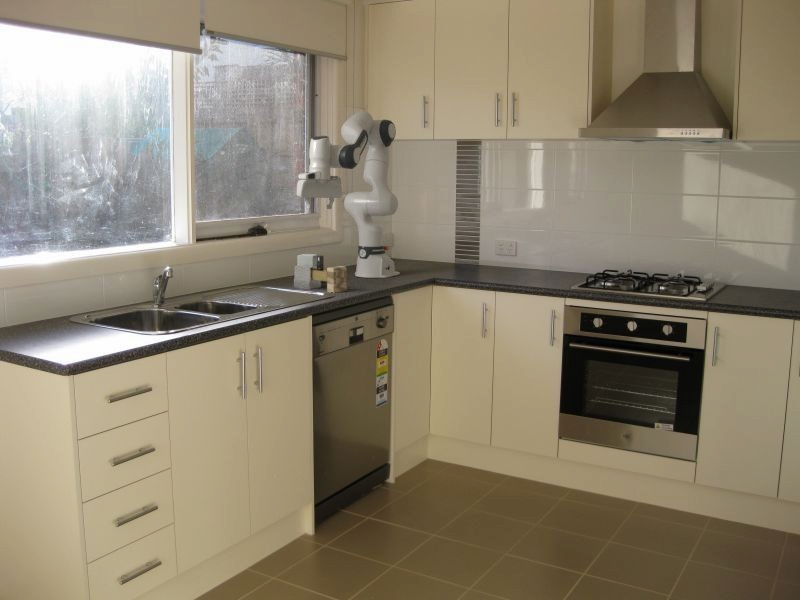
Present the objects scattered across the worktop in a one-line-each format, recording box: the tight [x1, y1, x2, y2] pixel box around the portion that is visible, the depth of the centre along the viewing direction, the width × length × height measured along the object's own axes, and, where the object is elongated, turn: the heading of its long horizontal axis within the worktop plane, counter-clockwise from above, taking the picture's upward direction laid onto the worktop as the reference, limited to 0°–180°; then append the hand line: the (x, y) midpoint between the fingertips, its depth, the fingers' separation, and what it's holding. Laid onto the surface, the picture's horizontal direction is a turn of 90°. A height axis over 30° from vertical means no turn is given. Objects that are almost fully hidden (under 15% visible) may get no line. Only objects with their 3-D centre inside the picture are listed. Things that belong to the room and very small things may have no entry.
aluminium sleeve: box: [293, 265, 322, 290], centre depth 368 cm, size 7×9×9 cm
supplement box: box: [296, 253, 319, 266], centre depth 380 cm, size 7×7×13 cm
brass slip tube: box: [311, 254, 327, 282], centre depth 364 cm, size 4×16×10 cm, turn 52°
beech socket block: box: [326, 265, 348, 294], centre depth 358 cm, size 8×4×10 cm, turn 142°
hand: (319, 208), depth 363 cm, fingers open, 8 cm apart
